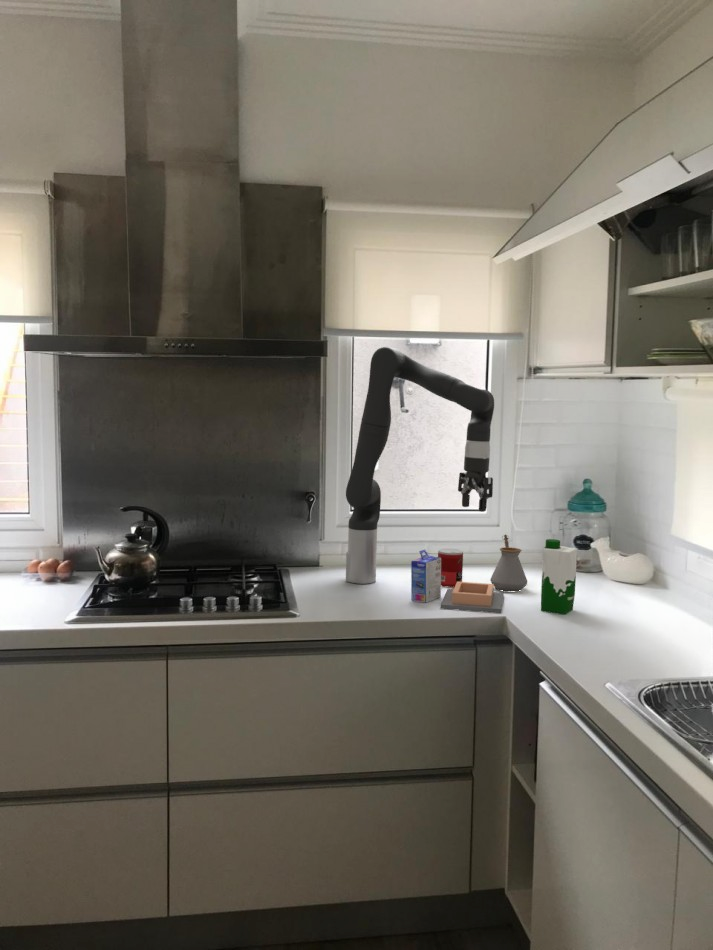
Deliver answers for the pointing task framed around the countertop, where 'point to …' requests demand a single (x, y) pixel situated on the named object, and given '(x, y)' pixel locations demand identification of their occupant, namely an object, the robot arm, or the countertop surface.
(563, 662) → the countertop surface
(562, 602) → the milk carton
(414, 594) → the ink cartridge box
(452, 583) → the canned food
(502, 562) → the coffee pot
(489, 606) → the dock
